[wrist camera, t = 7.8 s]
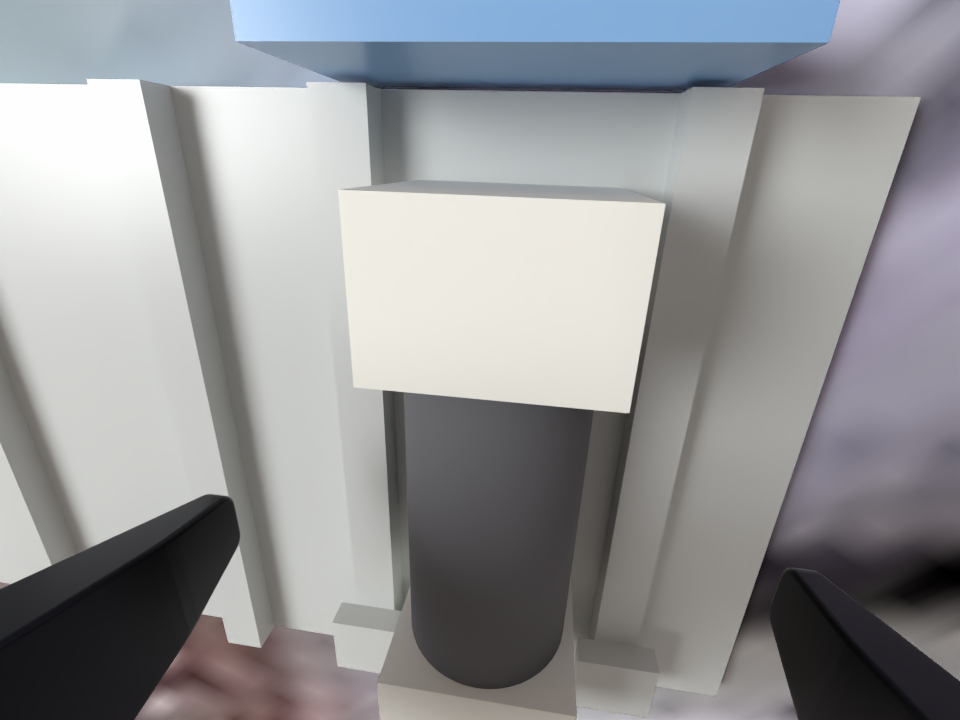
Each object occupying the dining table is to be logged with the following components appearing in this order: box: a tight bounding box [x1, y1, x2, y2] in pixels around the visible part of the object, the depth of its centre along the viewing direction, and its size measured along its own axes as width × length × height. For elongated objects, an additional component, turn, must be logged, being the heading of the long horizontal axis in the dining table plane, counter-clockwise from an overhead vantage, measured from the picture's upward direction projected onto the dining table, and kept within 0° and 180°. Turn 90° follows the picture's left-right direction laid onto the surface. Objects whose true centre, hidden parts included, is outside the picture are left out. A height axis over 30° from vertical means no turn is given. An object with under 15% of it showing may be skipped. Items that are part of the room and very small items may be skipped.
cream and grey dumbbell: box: [338, 180, 666, 720], centre depth 9 cm, size 11×4×4 cm, turn 178°
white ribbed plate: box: [0, 0, 921, 718], centre depth 10 cm, size 15×22×3 cm
